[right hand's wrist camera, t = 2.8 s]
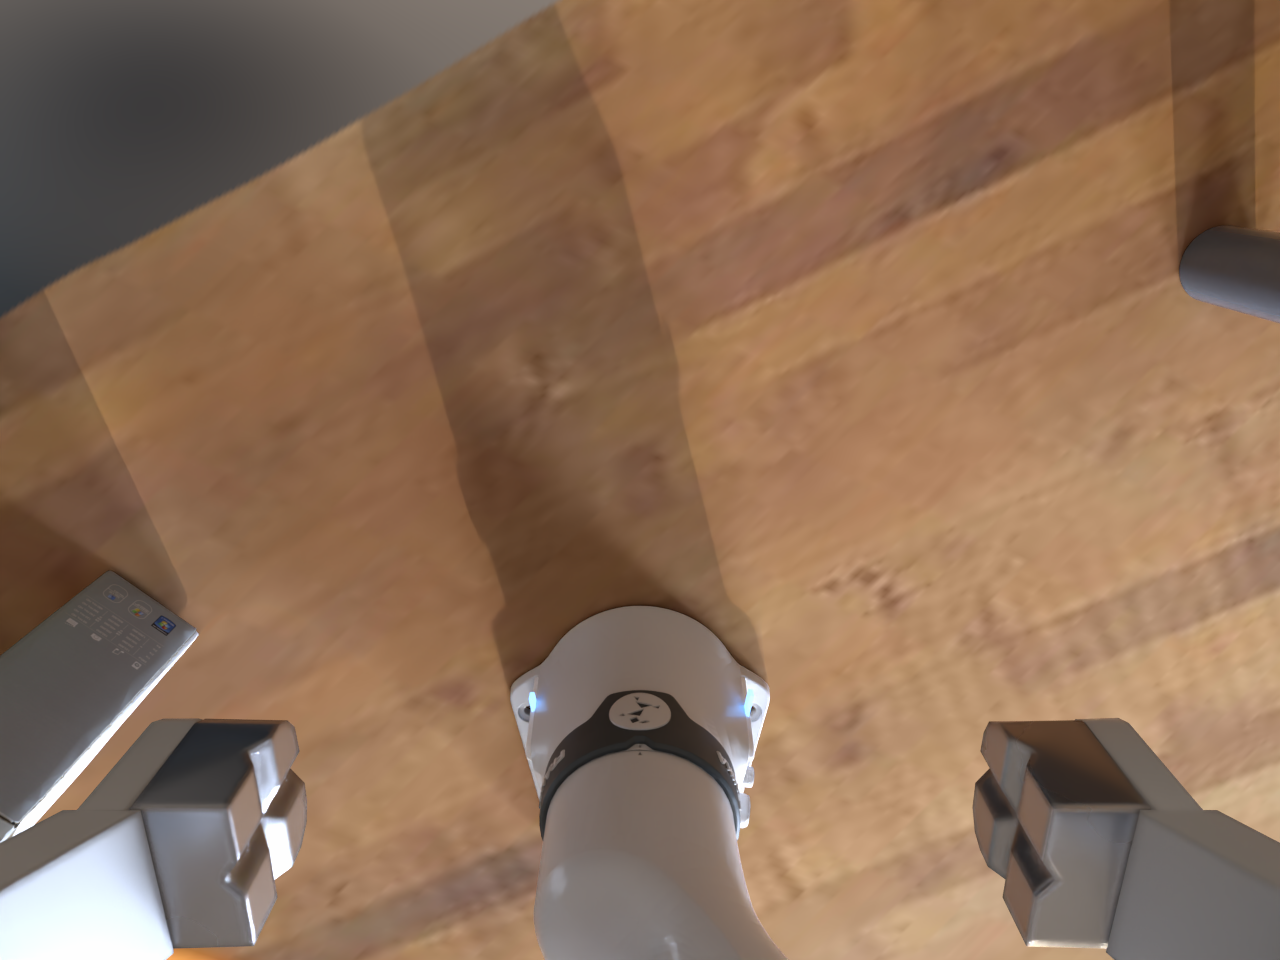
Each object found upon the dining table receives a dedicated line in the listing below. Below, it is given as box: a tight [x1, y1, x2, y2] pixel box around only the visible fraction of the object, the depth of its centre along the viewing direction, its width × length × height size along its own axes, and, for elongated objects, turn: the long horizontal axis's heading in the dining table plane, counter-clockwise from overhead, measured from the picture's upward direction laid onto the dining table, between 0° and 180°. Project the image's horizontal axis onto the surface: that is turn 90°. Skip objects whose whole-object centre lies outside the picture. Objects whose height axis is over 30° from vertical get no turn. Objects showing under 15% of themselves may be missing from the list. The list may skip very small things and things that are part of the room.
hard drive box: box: [0, 571, 199, 843], centre depth 56 cm, size 16×8×20 cm, turn 138°
